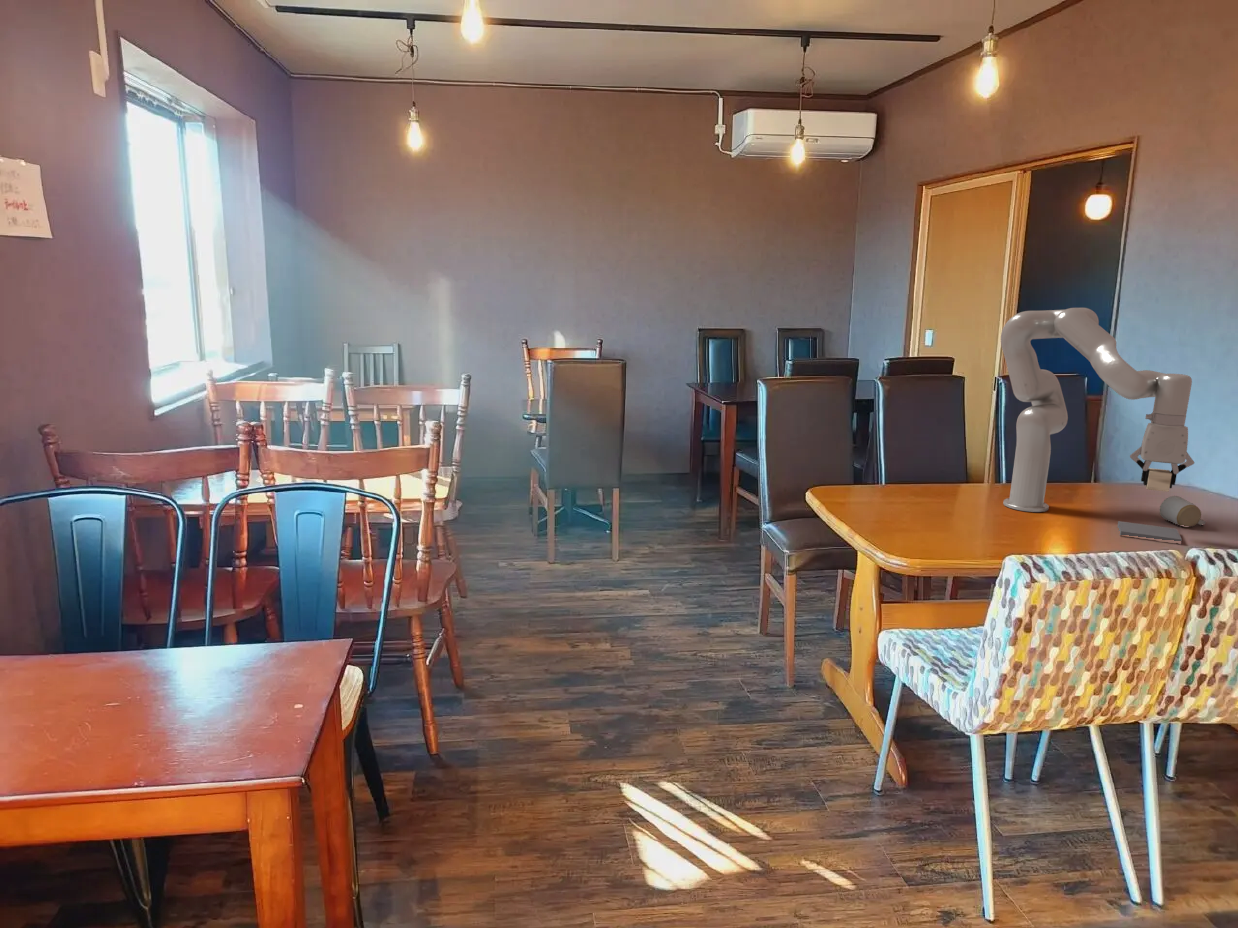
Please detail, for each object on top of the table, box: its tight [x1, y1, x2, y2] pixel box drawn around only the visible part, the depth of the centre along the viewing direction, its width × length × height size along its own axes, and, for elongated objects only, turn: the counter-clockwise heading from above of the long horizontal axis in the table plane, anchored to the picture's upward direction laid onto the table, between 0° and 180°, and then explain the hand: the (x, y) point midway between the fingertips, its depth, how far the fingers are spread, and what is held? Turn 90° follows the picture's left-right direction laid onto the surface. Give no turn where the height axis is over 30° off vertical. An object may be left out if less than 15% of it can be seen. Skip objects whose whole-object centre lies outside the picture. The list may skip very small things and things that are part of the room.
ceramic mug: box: [1159, 495, 1207, 527], centre depth 235 cm, size 11×8×8 cm
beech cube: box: [1144, 467, 1172, 493], centre depth 221 cm, size 5×5×5 cm
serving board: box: [1117, 520, 1183, 541], centre depth 225 cm, size 11×14×2 cm
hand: (1157, 485), depth 221 cm, fingers closed on beech cube, 5 cm apart
